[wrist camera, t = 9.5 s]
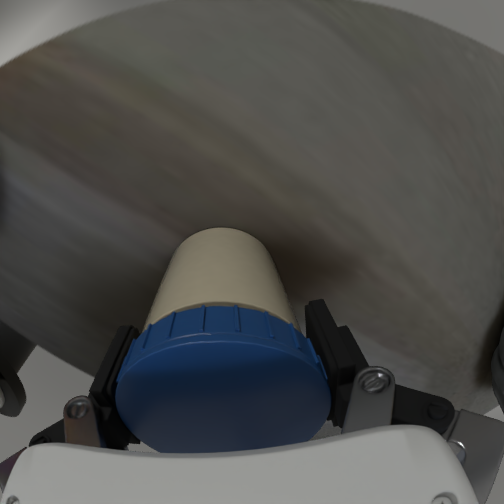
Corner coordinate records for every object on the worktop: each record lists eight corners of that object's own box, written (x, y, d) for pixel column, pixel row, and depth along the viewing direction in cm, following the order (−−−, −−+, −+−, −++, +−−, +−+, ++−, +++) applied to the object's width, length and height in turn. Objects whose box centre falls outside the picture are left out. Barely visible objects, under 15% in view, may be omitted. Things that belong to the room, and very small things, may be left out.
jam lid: (91, 326, 8) (72, 359, 7) (307, 277, 8) (325, 308, 7) (172, 442, 11) (169, 472, 9) (325, 415, 11) (336, 445, 9)
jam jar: (209, 340, 19) (207, 463, 10) (146, 266, 17) (88, 379, 8) (295, 292, 18) (346, 408, 9) (237, 204, 16) (254, 286, 7)
